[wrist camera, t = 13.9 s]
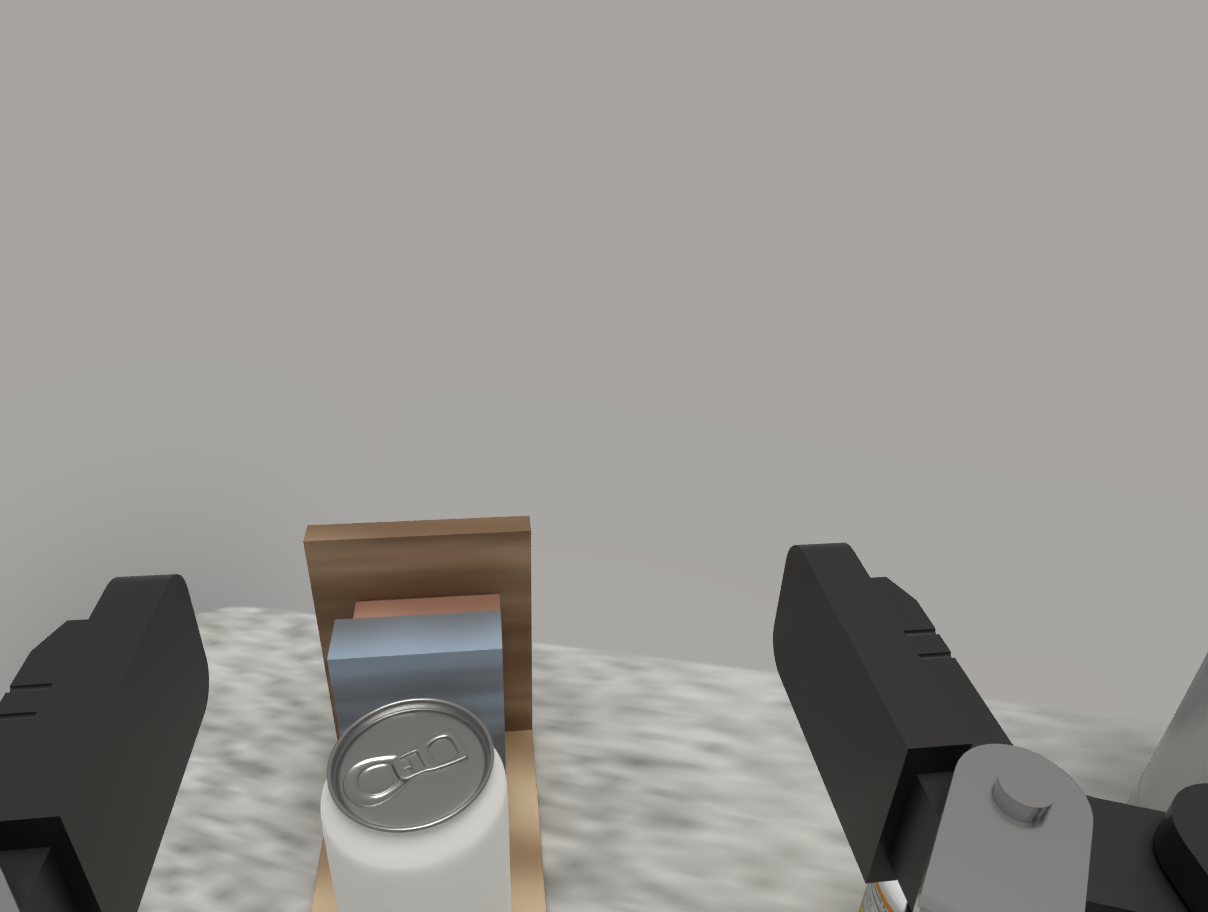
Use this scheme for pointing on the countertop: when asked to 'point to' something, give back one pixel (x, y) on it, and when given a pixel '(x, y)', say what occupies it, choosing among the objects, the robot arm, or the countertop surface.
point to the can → (417, 812)
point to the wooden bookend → (435, 646)
